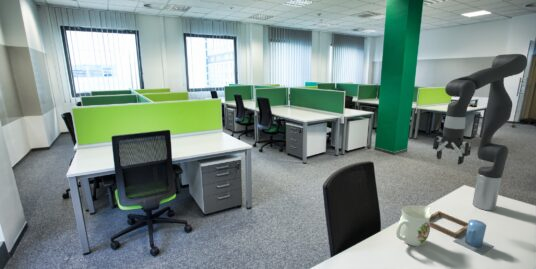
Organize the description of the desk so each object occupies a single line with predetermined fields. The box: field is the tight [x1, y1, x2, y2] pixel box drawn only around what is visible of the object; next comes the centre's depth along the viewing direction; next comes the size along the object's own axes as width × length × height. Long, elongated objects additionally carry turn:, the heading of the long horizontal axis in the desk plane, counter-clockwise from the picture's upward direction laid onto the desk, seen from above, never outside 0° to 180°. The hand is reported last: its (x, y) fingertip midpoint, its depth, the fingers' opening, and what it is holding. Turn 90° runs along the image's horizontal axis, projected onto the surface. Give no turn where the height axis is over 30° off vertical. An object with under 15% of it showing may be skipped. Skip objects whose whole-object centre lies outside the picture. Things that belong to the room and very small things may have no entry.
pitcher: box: [395, 205, 432, 247], centre depth 107 cm, size 11×18×14 cm, turn 116°
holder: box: [429, 210, 469, 239], centre depth 120 cm, size 14×14×2 cm
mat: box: [453, 233, 495, 256], centre depth 107 cm, size 10×10×1 cm
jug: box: [465, 219, 487, 248], centre depth 105 cm, size 8×6×9 cm
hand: (448, 161), depth 121 cm, fingers open, 8 cm apart
